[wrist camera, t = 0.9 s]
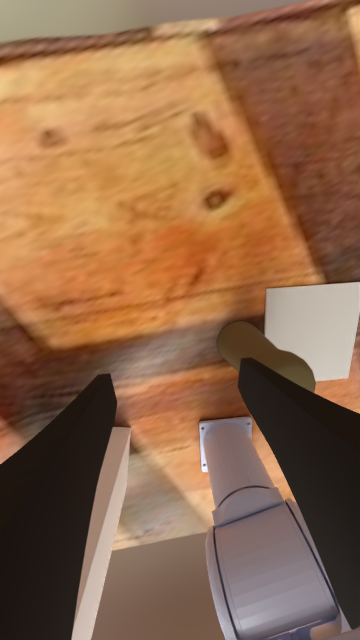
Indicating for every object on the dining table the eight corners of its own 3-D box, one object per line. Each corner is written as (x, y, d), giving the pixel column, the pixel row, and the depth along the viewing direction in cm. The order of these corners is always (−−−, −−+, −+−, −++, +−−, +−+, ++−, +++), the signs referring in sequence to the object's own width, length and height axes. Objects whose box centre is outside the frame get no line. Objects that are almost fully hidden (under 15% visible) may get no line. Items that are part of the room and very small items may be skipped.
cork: (256, 315, 24) (329, 347, 13) (262, 356, 25) (332, 415, 14) (212, 327, 24) (248, 367, 13) (221, 367, 25) (259, 433, 14)
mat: (346, 377, 27) (348, 378, 26) (261, 385, 26) (262, 386, 26) (362, 281, 23) (364, 281, 23) (265, 288, 23) (267, 288, 22)
